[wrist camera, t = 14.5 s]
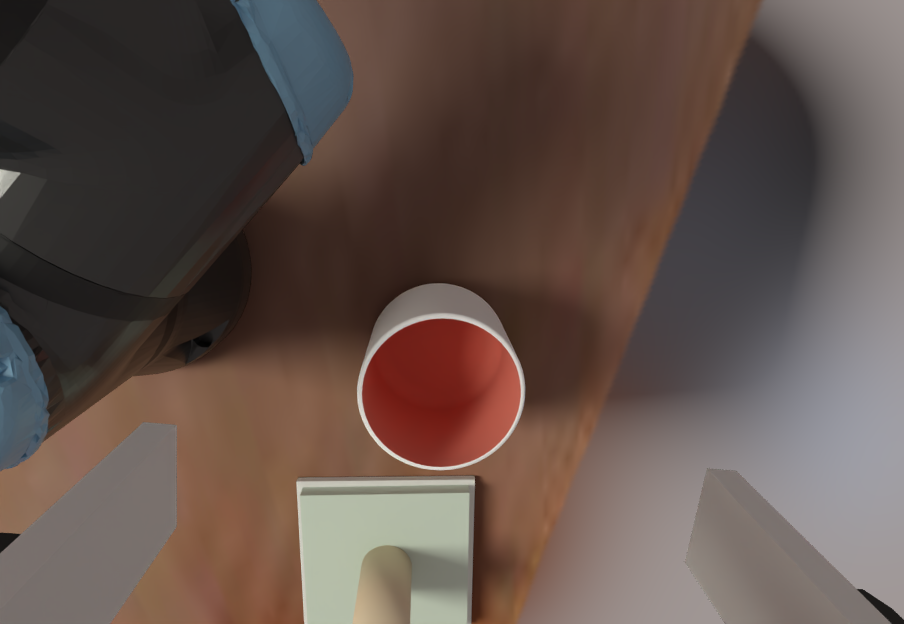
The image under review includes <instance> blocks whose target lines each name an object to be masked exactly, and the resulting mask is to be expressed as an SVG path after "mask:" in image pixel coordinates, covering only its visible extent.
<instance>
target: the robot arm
mask: <svg viewBox="0 0 904 624" xmlns="http://www.w3.org/2000/svg"><path fill="white" fill-rule="evenodd" d="M352 92H353V71H352V67H351V61H350V58H349V55H348V53H347V51H346V49H345V47H344V45H343V43H342V41H341V39H340V37H339V35H338V33H337V32H336V30H335V28H334V27H333V25H332V24H331V22H330V20H329V19H328V17H327V16H326V14H325V12H324V11H323V9H322V8H321V6H320V5H319V3H318V2H317V0H0V471H2V470H3V469H8V468H13V467H15V466H17V465H18V464H19V463H20V462H23V461H25V460H27V459H28V458H29V457H30V456H32V455H33V454H34V453H35V452H36V451H37V450H38V449H39V447H40V445H41V443H42V442H44V441H45V440H46V439H48V438H49V437H50V436H52V435H53V434H54V433H56V432H57V431H59V430H60V429H61V428H63V427H64V426H65V425H67V424H68V423H69V422H71V421H72V420H73V419H75V418H76V417H78V416H79V415H80V414H82V413H83V412H84V411H86V410H87V409H88V408H90V407H91V406H93V405H94V404H95V403H97V402H98V401H99V400H101V399H102V398H103V397H105V396H106V395H107V394H109V393H110V392H112V391H113V390H114V389H116V388H117V387H118V386H120V385H121V384H122V383H124V382H125V381H127V380H128V379H129V378H131V377H132V376H141V375H151V374H159V373H164V372H168V371H172V370H175V369H178V368H181V367H183V366H185V365H188V364H190V363H192V362H194V361H196V360H198V359H199V358H201V357H202V356H204V355H205V354H206V353H208V352H209V351H210V350H211V349H213V348H214V347H215V346H216V345H217V344H218V343H220V342H221V341H222V340H223V339H224V338H225V337H226V336H227V335H228V334H229V333H230V331H231V330H232V329H233V328H234V326H235V325H236V323H237V322H238V320H239V318H240V317H241V314H242V312H243V310H244V308H245V305H246V303H247V299H248V296H249V291H250V284H251V260H250V254H249V249H248V245H247V241H246V238H245V236H244V233H243V231H242V230H243V228H244V227H245V226H246V225H247V224H248V223H249V221H250V220H251V219H252V218H253V217H254V216H255V215H256V213H257V212H258V211H259V210H260V209H261V208H262V206H263V205H264V204H265V203H266V202H267V201H268V200H269V198H270V197H271V196H272V195H273V194H274V193H275V191H276V190H277V189H278V188H279V187H280V186H281V185H282V183H283V182H284V181H285V180H286V179H287V178H288V177H289V175H290V174H291V173H292V172H293V171H294V170H295V168H296V167H297V166H298V165H299V164H301V165H302V166H305V165H307V163H308V162H309V161H310V160H311V158H312V154H313V148H314V147H315V146H316V145H317V143H318V142H319V141H320V140H321V138H322V137H323V136H324V134H325V133H326V132H327V131H328V129H329V128H330V127H331V126H332V124H333V123H334V122H335V121H336V119H337V118H338V117H339V116H340V114H341V113H342V112H343V111H344V109H345V108H346V106H347V104H348V102H349V100H350V98H351V95H352ZM176 527H177V425H171V424H158V423H146V422H143V423H142V424H141V425H140V426H139V427H138V428H137V429H136V430H135V431H133V432H132V433H131V434H130V435H129V436H128V437H127V438H126V439H125V440H124V441H123V442H121V443H120V444H119V445H118V446H117V447H116V448H115V449H114V450H113V451H112V452H110V453H109V454H108V455H107V456H106V457H105V458H104V459H103V460H102V461H101V462H100V463H98V464H97V465H96V466H95V467H94V468H93V469H92V470H91V471H90V472H89V473H88V474H86V475H85V476H84V477H83V478H82V479H81V480H80V481H79V482H78V483H77V484H76V485H74V486H73V487H72V488H71V489H70V490H69V491H68V492H67V493H66V494H65V495H63V496H62V497H61V498H60V499H59V500H58V501H57V502H56V503H55V504H54V505H53V506H51V507H50V508H49V509H48V510H47V511H46V512H45V513H44V514H43V515H42V516H41V517H39V518H38V519H37V520H36V521H35V522H34V523H33V524H32V525H31V526H30V527H29V528H27V529H26V530H25V531H24V532H23V533H22V534H13V533H0V624H110V623H111V622H112V620H113V619H114V617H115V616H116V614H117V613H118V611H119V610H120V608H121V607H122V606H123V604H124V603H125V601H126V600H127V598H128V597H129V595H130V594H131V592H132V591H133V590H134V588H135V587H136V585H137V584H138V582H139V581H140V579H141V578H142V576H143V575H144V573H145V572H146V571H147V569H148V568H149V566H150V565H151V563H152V562H153V560H154V559H155V557H156V556H157V555H158V553H159V552H160V550H161V549H162V547H163V546H164V544H165V543H166V541H167V540H168V538H169V537H170V536H171V534H172V533H173V531H174V530H175V528H176ZM685 563H686V565H687V566H688V568H689V569H690V571H691V573H692V574H693V576H694V577H695V579H696V580H697V582H698V583H699V585H700V586H701V588H702V589H703V591H704V592H705V594H706V595H707V597H708V599H709V600H710V602H711V603H712V604H713V606H714V608H715V609H716V611H717V612H718V614H719V615H720V617H721V618H722V620H723V621H724V623H725V624H904V620H903V619H902V618H901V617H900V616H899V615H898V614H897V613H896V612H895V611H894V610H893V609H892V608H890V607H889V606H887V605H886V604H884V603H883V602H881V601H880V600H878V599H877V598H875V597H874V596H872V595H871V594H869V593H868V592H866V591H865V590H863V589H856V588H855V587H854V586H853V585H852V584H851V583H850V582H849V581H848V580H847V579H846V578H845V577H844V576H843V575H841V573H840V572H838V571H837V570H836V569H835V568H834V567H833V566H832V565H831V564H830V563H829V562H828V561H827V560H826V559H825V558H824V557H823V556H822V555H821V554H820V553H819V552H818V551H817V550H816V549H815V548H814V547H813V546H812V545H811V544H810V543H809V542H808V541H807V540H806V539H805V538H804V537H803V536H802V535H801V534H800V533H799V532H798V531H797V530H796V529H795V528H794V527H793V526H792V525H791V524H790V523H789V522H788V521H787V520H785V518H784V517H783V516H782V515H780V514H779V513H778V512H777V511H776V510H775V509H774V508H773V507H772V506H771V505H770V504H769V503H768V502H767V501H766V500H765V499H764V498H763V497H762V496H761V495H760V494H759V493H758V492H757V491H756V490H755V489H754V488H753V487H752V486H751V485H750V484H749V483H748V482H747V481H746V480H745V479H744V478H743V477H742V476H741V475H740V474H739V473H738V472H737V471H733V470H721V469H708V468H707V471H706V475H705V479H704V483H703V488H702V492H701V496H700V501H699V504H698V509H697V513H696V517H695V521H694V526H693V530H692V534H691V539H690V543H689V547H688V551H687V555H686V559H685Z"/></svg>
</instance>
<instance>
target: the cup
mask: <svg viewBox="0 0 904 624" xmlns="http://www.w3.org/2000/svg"><path fill="white" fill-rule="evenodd" d="M357 399H358V406H359V411H360V414H361V417H362V420H363V422H364V424H365V427H366V428H367V430H368V432H369V433H370V435H371V436H372V437H373V439H374V440H375V441H376V443H377V444H378V445H379V446H380V447H381V448H382V449H384V450H385V451H386V452H387V453H389V454H390V455H392V456H393V457H395V458H396V459H398V460H400V461H402V462H404V463H406V464H409V465H412V466H415V467H419V468H422V469H429V470H452V469H457V468H462V467H465V466H469V465H471V464H474V463H476V462H479V461H481V460H482V459H484V458H486V457H488V456H489V455H491V454H492V453H493V452H495V451H496V450H497V449H498V448H499V447H500V446H501V445H503V444H504V443H505V441H506V440H507V439H508V438H509V437H510V435H511V434H512V432H513V431H514V429H515V427H516V426H517V424H518V421H519V419H520V417H521V414H522V410H523V407H524V401H525V379H524V374H523V370H522V367H521V364H520V361H519V359H518V357H517V355H516V353H515V351H514V349H513V347H512V344H511V342H510V340H509V338H508V336H507V334H506V332H505V330H504V328H503V326H502V324H501V322H500V320H499V318H498V316H497V314H496V313H495V312H494V310H493V309H492V308H491V307H490V305H489V304H488V303H487V302H486V301H484V300H483V299H482V298H481V297H479V296H478V295H477V294H475V293H473V292H472V291H470V290H467V289H465V288H463V287H460V286H456V285H451V284H444V283H433V284H426V285H421V286H418V287H414V288H412V289H410V290H407V291H406V292H404V293H402V294H400V295H399V296H397V297H396V298H395V299H394V300H392V301H391V302H390V303H389V304H388V305H387V306H386V307H385V309H384V310H383V311H382V313H381V314H380V316H379V317H378V319H377V321H376V323H375V325H374V328H373V331H372V334H371V338H370V341H369V344H368V348H367V351H366V354H365V357H364V361H363V364H362V367H361V370H360V374H359V378H358V385H357Z"/></svg>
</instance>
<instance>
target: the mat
mask: <svg viewBox="0 0 904 624" xmlns="http://www.w3.org/2000/svg"><path fill="white" fill-rule="evenodd" d="M296 482H297V500H298V518H299V536H300V554H301V572H302V590H303V607H304V624H307V607H306V590H305V574H304V557H303V540H302V523H301V507H300V494H301V491H302V489H303V487H355V486H417V485H468V486H469V543H468V596H467V624H471V612H472V574H473V536H474V497H475V477H474V476H394V477H305V478H298V479H297V481H296Z"/></svg>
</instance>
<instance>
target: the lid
mask: <svg viewBox="0 0 904 624" xmlns="http://www.w3.org/2000/svg"><path fill="white" fill-rule="evenodd" d="M300 507H301V523H302V540H303V557H304V574H305V590H306V607H307V624H467V596H468V543H469V486H468V485H417V486H355V487H303V489H302V491H301V494H300Z"/></svg>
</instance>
